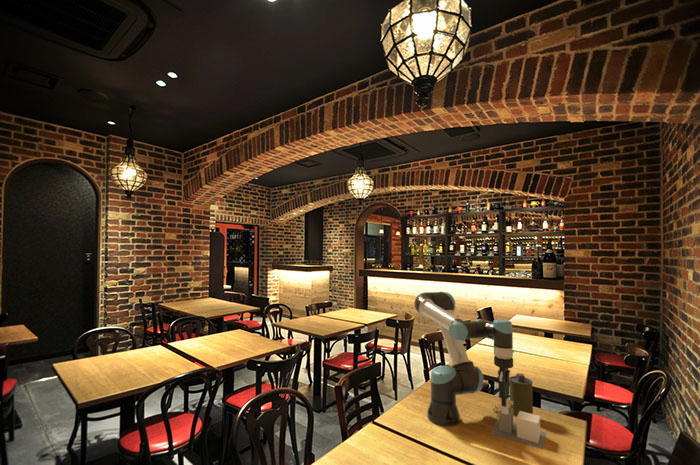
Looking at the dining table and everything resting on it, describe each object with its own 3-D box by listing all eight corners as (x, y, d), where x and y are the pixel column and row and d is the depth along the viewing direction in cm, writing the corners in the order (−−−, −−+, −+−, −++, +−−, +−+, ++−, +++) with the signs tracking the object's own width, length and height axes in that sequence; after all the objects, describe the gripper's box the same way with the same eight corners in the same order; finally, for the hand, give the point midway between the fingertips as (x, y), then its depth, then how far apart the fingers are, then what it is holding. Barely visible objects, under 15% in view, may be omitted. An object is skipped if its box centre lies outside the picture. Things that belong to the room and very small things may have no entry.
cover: (516, 436, 142) (516, 417, 143) (520, 429, 149) (519, 410, 149) (538, 443, 138) (537, 423, 138) (540, 434, 144) (540, 415, 145)
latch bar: (500, 404, 152) (500, 395, 153) (514, 408, 148) (513, 399, 149) (487, 415, 142) (487, 405, 142) (501, 419, 138) (501, 409, 138)
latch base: (490, 435, 145) (489, 412, 146) (498, 421, 158) (497, 399, 159) (542, 451, 133) (542, 426, 134) (546, 434, 146) (546, 411, 147)
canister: (536, 422, 157) (535, 379, 159) (513, 419, 159) (512, 377, 161) (529, 412, 168) (528, 371, 169) (507, 409, 170) (506, 369, 172)
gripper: (509, 362, 136) (511, 421, 134) (515, 354, 146) (517, 410, 144) (490, 358, 140) (491, 416, 138) (497, 351, 151) (498, 405, 149)
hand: (504, 413), depth 141 cm, fingers closed
